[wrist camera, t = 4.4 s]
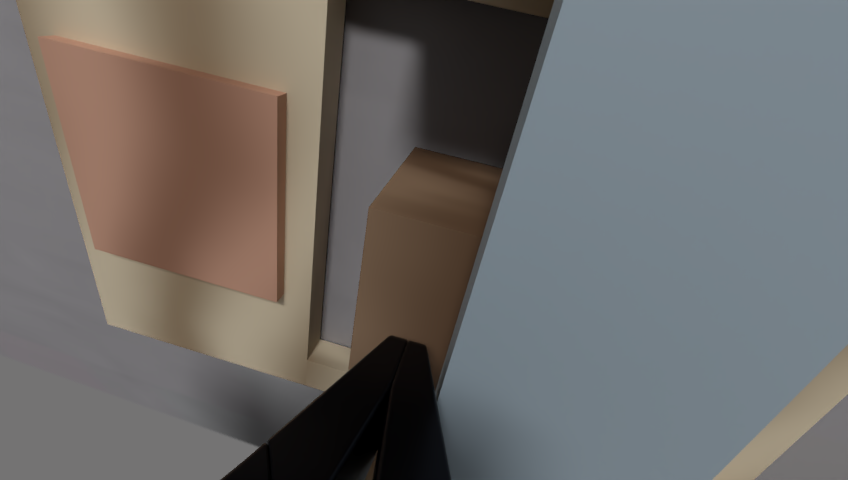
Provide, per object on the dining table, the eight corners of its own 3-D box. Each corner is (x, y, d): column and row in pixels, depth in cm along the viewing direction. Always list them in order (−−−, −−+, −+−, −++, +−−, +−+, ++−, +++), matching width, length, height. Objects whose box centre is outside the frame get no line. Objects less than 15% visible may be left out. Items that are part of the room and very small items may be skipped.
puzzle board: (130, 306, 19) (23, 388, 15) (17, -171, 11) (-296, -279, 7) (705, 481, 17) (763, 632, 13) (1125, 56, 8) (1671, 103, 4)
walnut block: (392, 277, 15) (348, 369, 11) (416, 145, 13) (368, 207, 9) (528, 315, 15) (529, 424, 11) (581, 187, 12) (607, 270, 8)
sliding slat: (395, 521, 13) (381, 580, 12) (588, -113, 5) (612, -157, 4) (548, 572, 13) (552, 639, 12) (1029, -29, 5) (1234, -43, 3)
